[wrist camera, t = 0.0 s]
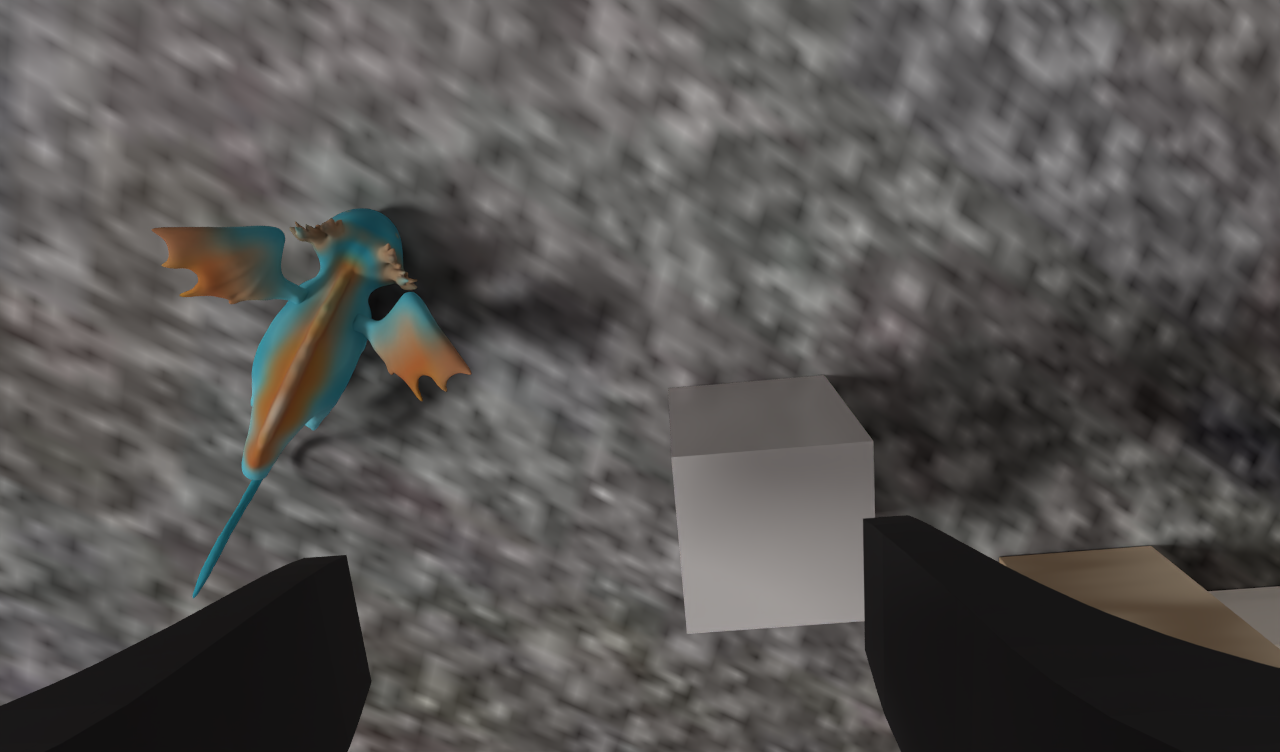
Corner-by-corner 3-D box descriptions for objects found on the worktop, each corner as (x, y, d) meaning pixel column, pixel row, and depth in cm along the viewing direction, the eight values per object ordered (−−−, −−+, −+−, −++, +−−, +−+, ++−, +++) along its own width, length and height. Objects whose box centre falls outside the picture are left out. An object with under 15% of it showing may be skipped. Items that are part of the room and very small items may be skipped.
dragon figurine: (415, 428, 26) (518, 245, 21) (328, 644, 20) (439, 468, 15) (202, 337, 24) (258, 113, 19) (44, 548, 18) (64, 313, 13)
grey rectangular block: (829, 517, 22) (877, 620, 17) (680, 529, 22) (687, 633, 18) (823, 374, 21) (873, 441, 16) (667, 388, 21) (671, 457, 16)
